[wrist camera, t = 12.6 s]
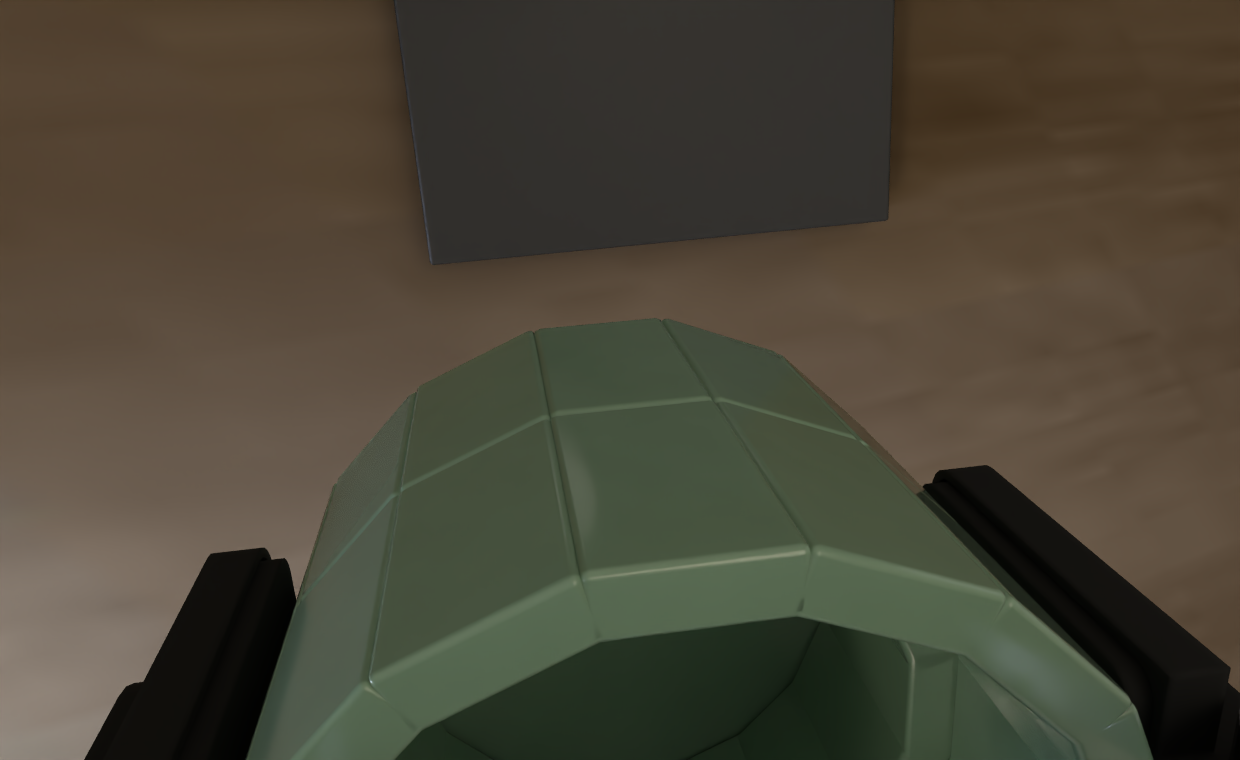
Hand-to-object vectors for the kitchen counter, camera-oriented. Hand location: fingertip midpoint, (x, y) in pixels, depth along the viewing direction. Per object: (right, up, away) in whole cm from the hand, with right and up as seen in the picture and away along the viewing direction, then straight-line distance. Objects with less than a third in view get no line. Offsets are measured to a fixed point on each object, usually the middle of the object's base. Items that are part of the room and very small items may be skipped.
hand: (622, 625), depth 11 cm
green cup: (0, 0, +1) cm, 1 cm away
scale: (+1, +12, +13) cm, 18 cm away
